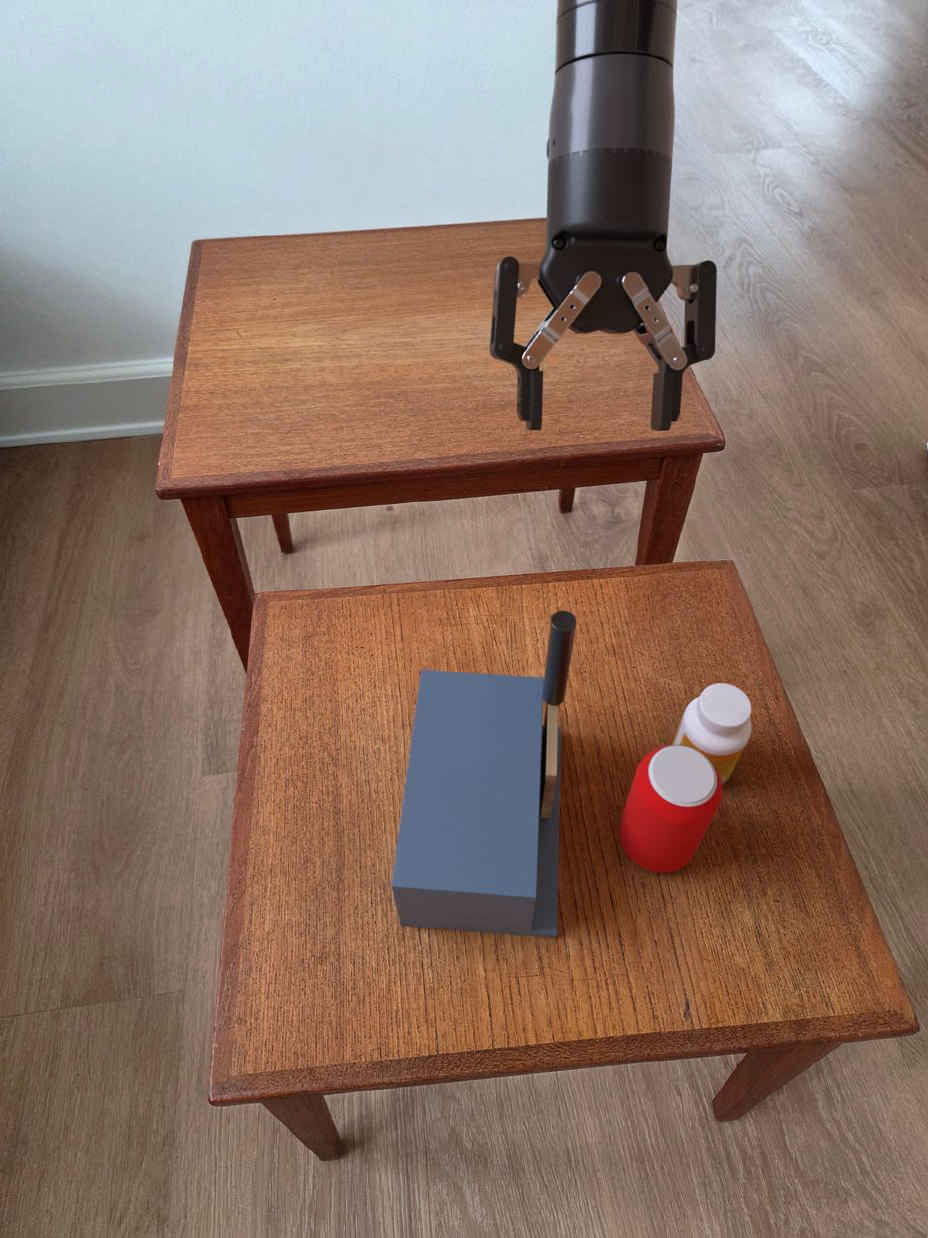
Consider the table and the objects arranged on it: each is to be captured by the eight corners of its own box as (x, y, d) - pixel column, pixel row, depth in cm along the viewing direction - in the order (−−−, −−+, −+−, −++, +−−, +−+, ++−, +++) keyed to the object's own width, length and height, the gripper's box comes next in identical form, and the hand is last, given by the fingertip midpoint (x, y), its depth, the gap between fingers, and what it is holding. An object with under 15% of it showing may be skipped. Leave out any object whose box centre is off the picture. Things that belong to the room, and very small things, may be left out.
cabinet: (560, 731, 76) (568, 678, 69) (556, 938, 65) (565, 900, 58) (426, 722, 76) (421, 669, 69) (400, 925, 66) (391, 886, 59)
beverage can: (670, 893, 67) (702, 831, 57) (602, 848, 69) (622, 781, 59) (706, 834, 70) (743, 765, 60) (640, 792, 72) (665, 720, 62)
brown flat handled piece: (557, 729, 74) (576, 604, 60) (556, 819, 69) (576, 705, 55) (537, 727, 74) (551, 602, 60) (534, 817, 69) (548, 704, 55)
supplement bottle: (737, 791, 72) (768, 734, 64) (673, 792, 72) (697, 735, 64) (724, 734, 75) (753, 674, 67) (663, 736, 75) (685, 675, 67)
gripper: (502, 138, 48) (498, 433, 52) (747, 145, 49) (723, 433, 53) (486, 170, 55) (484, 427, 59) (701, 176, 56) (683, 427, 60)
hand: (597, 430), depth 56 cm, fingers open, 8 cm apart
